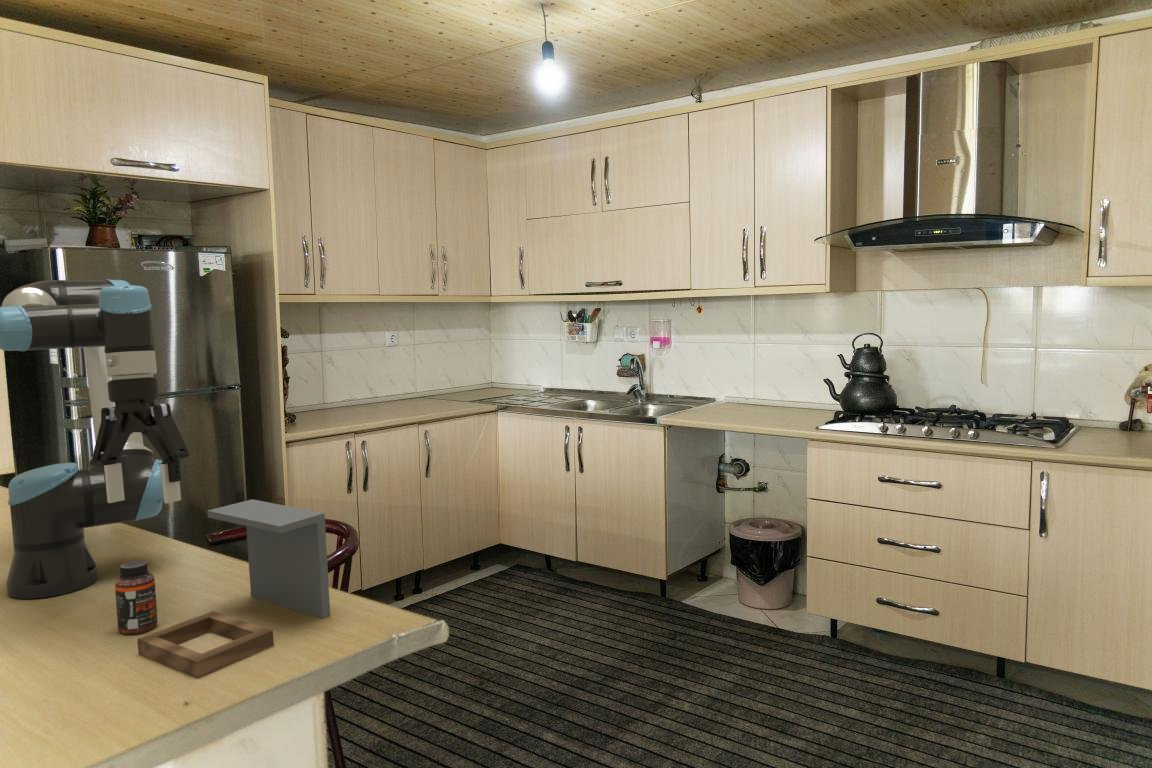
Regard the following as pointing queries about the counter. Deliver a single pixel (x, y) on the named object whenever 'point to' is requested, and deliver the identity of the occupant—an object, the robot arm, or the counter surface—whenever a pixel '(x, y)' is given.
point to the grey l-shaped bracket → (284, 554)
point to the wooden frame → (196, 664)
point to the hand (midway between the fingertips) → (144, 501)
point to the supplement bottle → (135, 598)
